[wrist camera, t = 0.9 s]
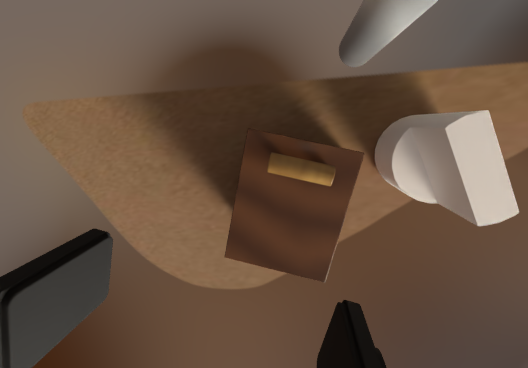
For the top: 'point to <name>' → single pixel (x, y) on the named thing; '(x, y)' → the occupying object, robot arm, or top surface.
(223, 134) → the top surface
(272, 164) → the compartment lid
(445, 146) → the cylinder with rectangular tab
